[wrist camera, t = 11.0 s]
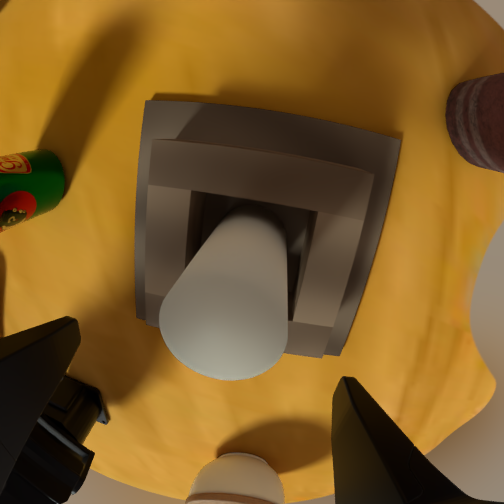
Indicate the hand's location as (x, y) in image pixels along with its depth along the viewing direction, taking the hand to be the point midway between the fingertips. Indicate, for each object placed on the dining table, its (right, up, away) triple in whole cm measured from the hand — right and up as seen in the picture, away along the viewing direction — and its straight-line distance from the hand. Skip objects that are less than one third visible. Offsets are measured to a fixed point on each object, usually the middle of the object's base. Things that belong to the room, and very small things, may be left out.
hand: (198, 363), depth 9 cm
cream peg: (+2, +4, +10) cm, 11 cm away
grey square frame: (+2, +5, +11) cm, 12 cm away
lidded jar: (+1, -22, +21) cm, 30 cm away
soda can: (-15, +9, +11) cm, 21 cm away
